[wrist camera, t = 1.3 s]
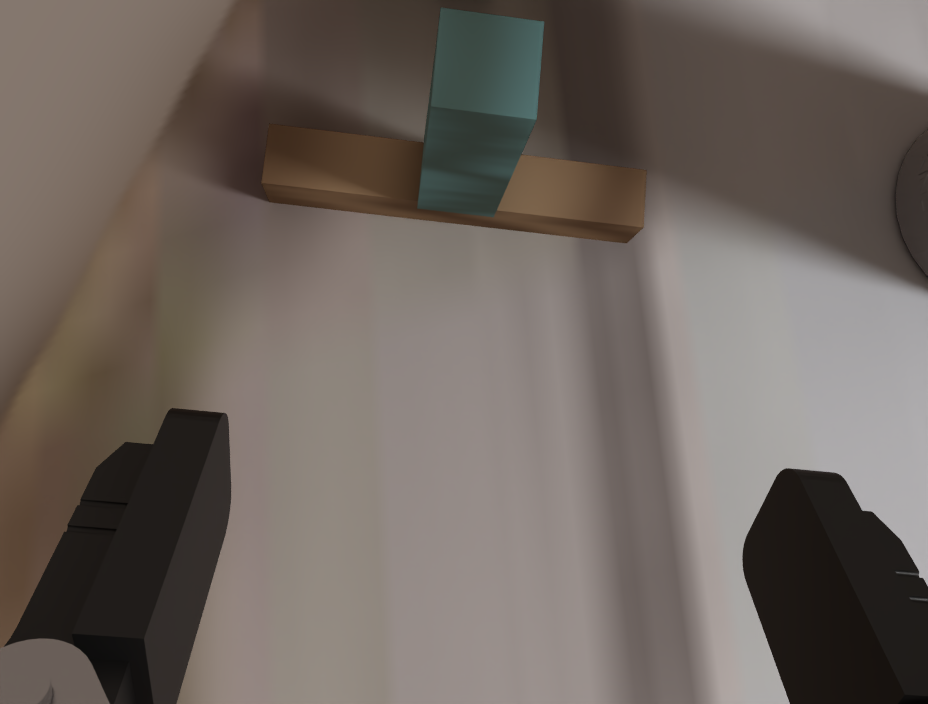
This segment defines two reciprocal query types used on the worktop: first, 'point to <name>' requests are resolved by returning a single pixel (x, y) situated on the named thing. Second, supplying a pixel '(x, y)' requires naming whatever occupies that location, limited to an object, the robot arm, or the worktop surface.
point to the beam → (463, 150)
